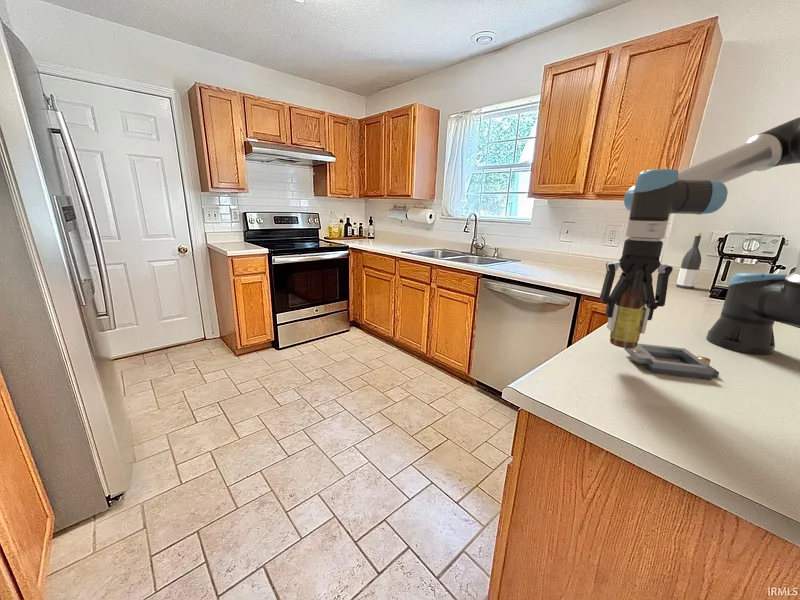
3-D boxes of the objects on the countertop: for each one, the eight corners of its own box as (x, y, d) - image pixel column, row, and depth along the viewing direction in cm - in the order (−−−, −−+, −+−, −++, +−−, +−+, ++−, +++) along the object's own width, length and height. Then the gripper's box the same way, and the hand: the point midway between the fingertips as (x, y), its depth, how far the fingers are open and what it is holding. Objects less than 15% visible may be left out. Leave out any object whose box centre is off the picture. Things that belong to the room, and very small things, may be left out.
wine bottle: (681, 288, 185) (695, 233, 177) (672, 285, 192) (685, 232, 184) (697, 289, 183) (712, 234, 175) (688, 286, 191) (702, 232, 183)
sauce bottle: (641, 350, 83) (659, 272, 78) (614, 348, 84) (629, 270, 79) (630, 341, 89) (645, 267, 84) (604, 338, 91) (618, 266, 85)
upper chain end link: (681, 358, 95) (684, 348, 94) (710, 380, 82) (714, 369, 82) (620, 351, 98) (622, 341, 97) (639, 371, 86) (642, 360, 85)
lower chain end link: (692, 359, 94) (695, 349, 93) (722, 381, 82) (726, 370, 81) (630, 352, 98) (632, 342, 97) (650, 372, 85) (653, 362, 85)
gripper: (604, 239, 78) (588, 331, 85) (700, 242, 74) (676, 339, 80) (594, 236, 85) (580, 322, 92) (682, 239, 81) (661, 329, 87)
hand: (625, 330), depth 86 cm, fingers closed on sauce bottle, 6 cm apart
